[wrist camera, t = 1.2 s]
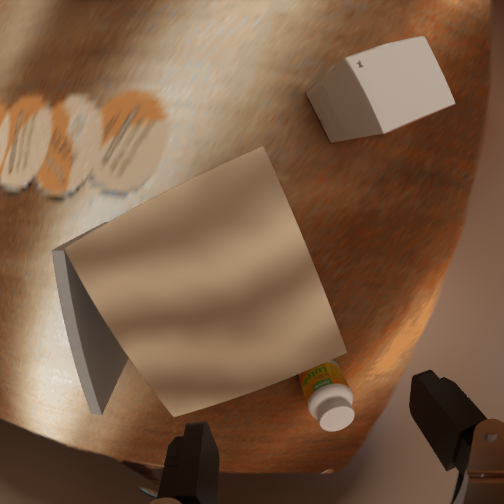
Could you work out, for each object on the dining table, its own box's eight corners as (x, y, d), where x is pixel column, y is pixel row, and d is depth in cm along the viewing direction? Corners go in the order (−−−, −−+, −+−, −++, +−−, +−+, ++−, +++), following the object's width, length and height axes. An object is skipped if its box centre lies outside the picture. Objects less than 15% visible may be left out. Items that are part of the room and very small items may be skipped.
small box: (330, 144, 33) (382, 136, 20) (303, 92, 31) (342, 55, 19) (389, 118, 32) (458, 104, 20) (365, 69, 31) (424, 32, 18)
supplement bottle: (319, 346, 39) (340, 394, 30) (345, 366, 40) (369, 412, 31) (289, 374, 40) (303, 425, 31) (317, 391, 41) (334, 441, 32)
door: (95, 222, 33) (40, 250, 22) (115, 222, 33) (64, 250, 22) (113, 351, 37) (80, 411, 26) (131, 352, 38) (101, 415, 26)
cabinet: (118, 218, 34) (63, 248, 21) (251, 153, 33) (263, 146, 20) (188, 344, 38) (173, 417, 26) (312, 292, 37) (347, 352, 25)
